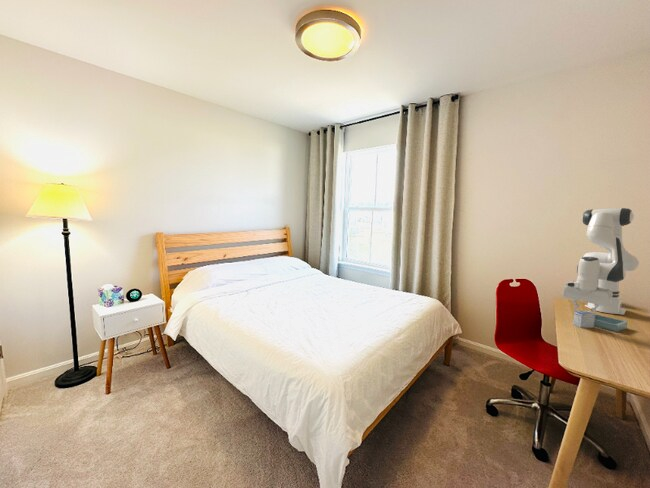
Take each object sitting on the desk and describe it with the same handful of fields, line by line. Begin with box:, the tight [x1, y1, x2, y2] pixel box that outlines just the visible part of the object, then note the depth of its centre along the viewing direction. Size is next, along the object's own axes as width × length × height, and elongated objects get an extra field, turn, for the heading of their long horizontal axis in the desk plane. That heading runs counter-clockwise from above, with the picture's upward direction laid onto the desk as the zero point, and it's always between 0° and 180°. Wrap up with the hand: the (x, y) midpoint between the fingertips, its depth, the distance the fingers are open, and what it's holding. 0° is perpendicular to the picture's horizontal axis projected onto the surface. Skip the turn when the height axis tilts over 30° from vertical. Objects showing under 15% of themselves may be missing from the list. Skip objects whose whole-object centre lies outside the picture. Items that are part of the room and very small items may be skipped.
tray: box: [594, 313, 628, 333], centre depth 153 cm, size 14×16×4 cm
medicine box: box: [572, 310, 596, 329], centre depth 150 cm, size 8×4×9 cm, turn 91°
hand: (584, 309), depth 150 cm, fingers open, 6 cm apart
